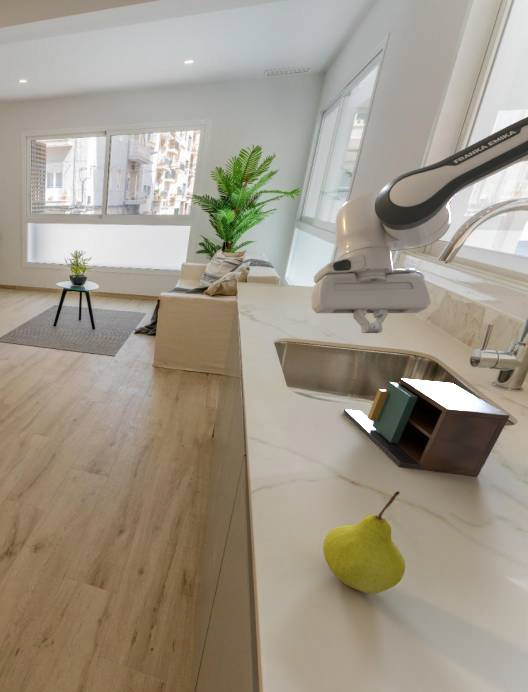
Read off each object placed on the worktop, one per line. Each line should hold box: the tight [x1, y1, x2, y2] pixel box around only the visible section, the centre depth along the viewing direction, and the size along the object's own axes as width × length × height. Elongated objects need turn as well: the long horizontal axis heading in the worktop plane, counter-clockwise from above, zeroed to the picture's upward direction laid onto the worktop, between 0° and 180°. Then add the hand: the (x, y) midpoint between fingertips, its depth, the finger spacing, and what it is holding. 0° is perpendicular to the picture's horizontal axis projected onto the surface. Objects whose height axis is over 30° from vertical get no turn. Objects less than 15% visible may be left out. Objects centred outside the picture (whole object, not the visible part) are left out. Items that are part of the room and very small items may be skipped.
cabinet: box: [342, 378, 510, 478], centre depth 74 cm, size 11×19×11 cm, turn 168°
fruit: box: [322, 490, 406, 595], centre depth 46 cm, size 7×7×12 cm
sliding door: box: [367, 381, 418, 443], centre depth 75 cm, size 2×6×9 cm, turn 168°
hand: (372, 332), depth 87 cm, fingers closed
